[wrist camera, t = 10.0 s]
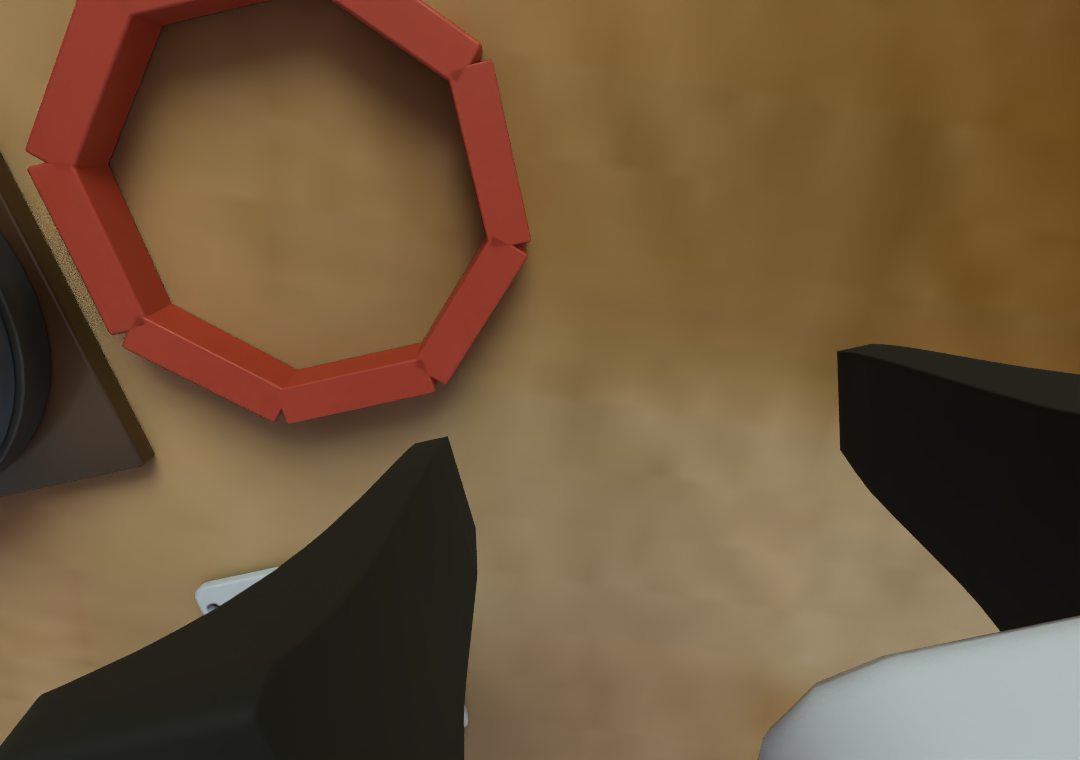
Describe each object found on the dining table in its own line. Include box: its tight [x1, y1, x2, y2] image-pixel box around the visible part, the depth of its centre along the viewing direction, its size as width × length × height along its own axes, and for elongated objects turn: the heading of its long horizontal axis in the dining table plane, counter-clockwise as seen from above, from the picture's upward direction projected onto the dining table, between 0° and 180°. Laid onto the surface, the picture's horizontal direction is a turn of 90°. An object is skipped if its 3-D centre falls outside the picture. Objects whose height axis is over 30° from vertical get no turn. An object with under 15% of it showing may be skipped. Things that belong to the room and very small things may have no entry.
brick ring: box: [26, 0, 531, 424], centre depth 18 cm, size 12×12×2 cm
